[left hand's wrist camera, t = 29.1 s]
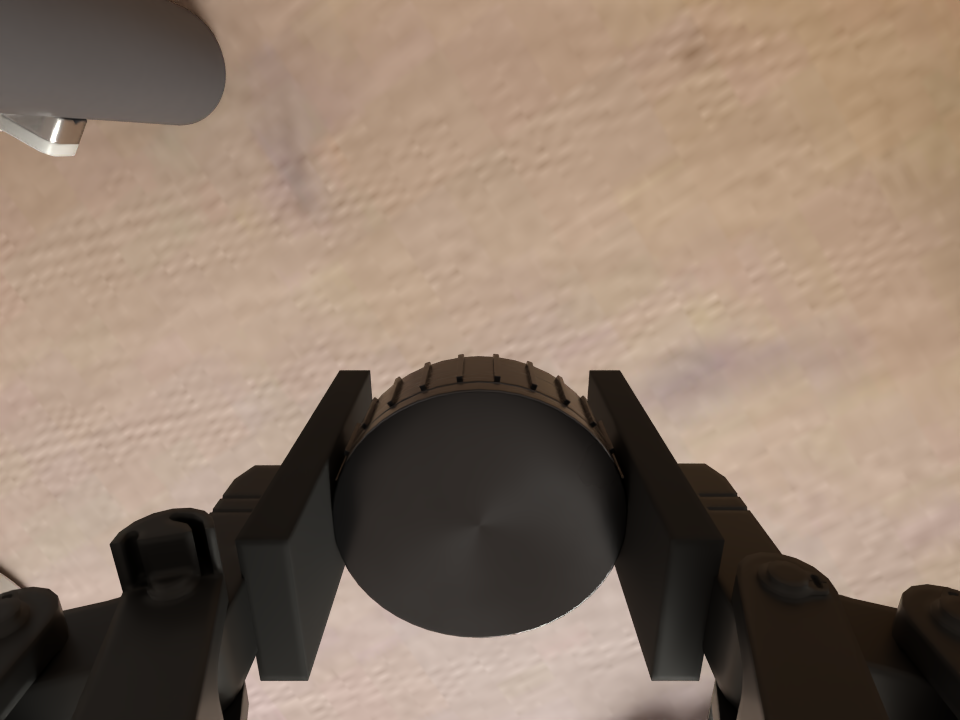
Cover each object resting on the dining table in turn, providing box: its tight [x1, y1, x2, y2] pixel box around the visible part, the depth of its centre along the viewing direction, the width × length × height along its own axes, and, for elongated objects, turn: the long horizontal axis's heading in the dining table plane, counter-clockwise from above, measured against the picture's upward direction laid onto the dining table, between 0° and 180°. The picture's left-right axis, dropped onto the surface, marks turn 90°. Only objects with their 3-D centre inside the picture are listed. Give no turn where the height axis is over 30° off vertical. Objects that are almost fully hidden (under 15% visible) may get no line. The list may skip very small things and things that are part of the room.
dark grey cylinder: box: [0, 0, 226, 125], centre depth 17 cm, size 5×5×18 cm
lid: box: [332, 354, 628, 638], centre depth 11 cm, size 6×6×2 cm
